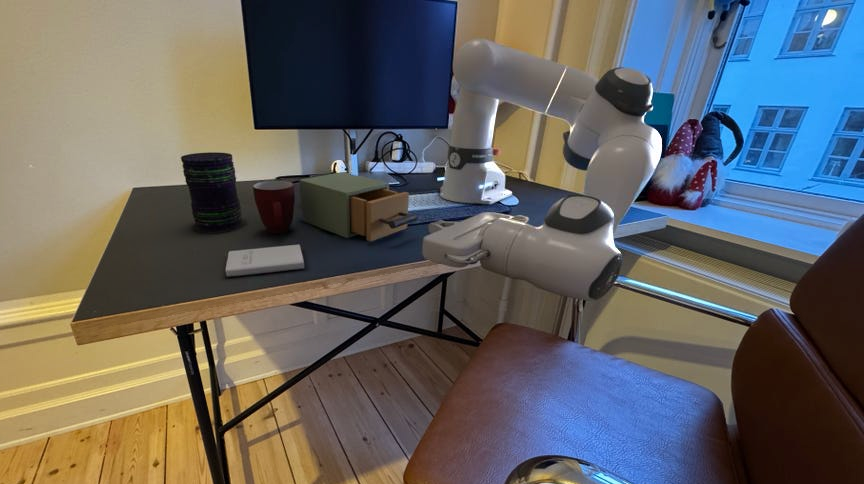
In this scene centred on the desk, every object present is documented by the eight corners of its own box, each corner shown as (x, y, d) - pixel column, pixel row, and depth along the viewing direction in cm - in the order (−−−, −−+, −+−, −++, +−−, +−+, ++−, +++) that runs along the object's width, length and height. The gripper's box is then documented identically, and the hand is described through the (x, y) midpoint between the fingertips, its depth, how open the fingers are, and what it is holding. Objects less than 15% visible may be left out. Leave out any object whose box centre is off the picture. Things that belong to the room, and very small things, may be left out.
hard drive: (304, 270, 63) (226, 278, 59) (300, 251, 70) (230, 257, 66) (303, 261, 62) (224, 269, 59) (299, 243, 69) (228, 249, 66)
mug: (305, 238, 76) (301, 190, 71) (265, 244, 72) (258, 194, 68) (292, 223, 84) (288, 179, 80) (256, 227, 81) (249, 182, 76)
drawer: (423, 233, 77) (425, 196, 74) (386, 247, 70) (387, 208, 66) (361, 213, 89) (360, 181, 85) (324, 224, 81) (322, 189, 78)
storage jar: (185, 227, 80) (169, 157, 73) (222, 215, 88) (210, 150, 81) (217, 236, 76) (202, 162, 69) (252, 222, 84) (243, 155, 77)
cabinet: (388, 224, 84) (389, 182, 80) (347, 238, 76) (346, 192, 72) (343, 209, 94) (341, 171, 90) (302, 220, 85) (299, 179, 81)
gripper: (466, 285, 54) (395, 257, 62) (525, 247, 67) (460, 228, 76) (471, 245, 51) (396, 222, 59) (532, 214, 64) (464, 199, 73)
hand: (433, 225), depth 68 cm, fingers closed
